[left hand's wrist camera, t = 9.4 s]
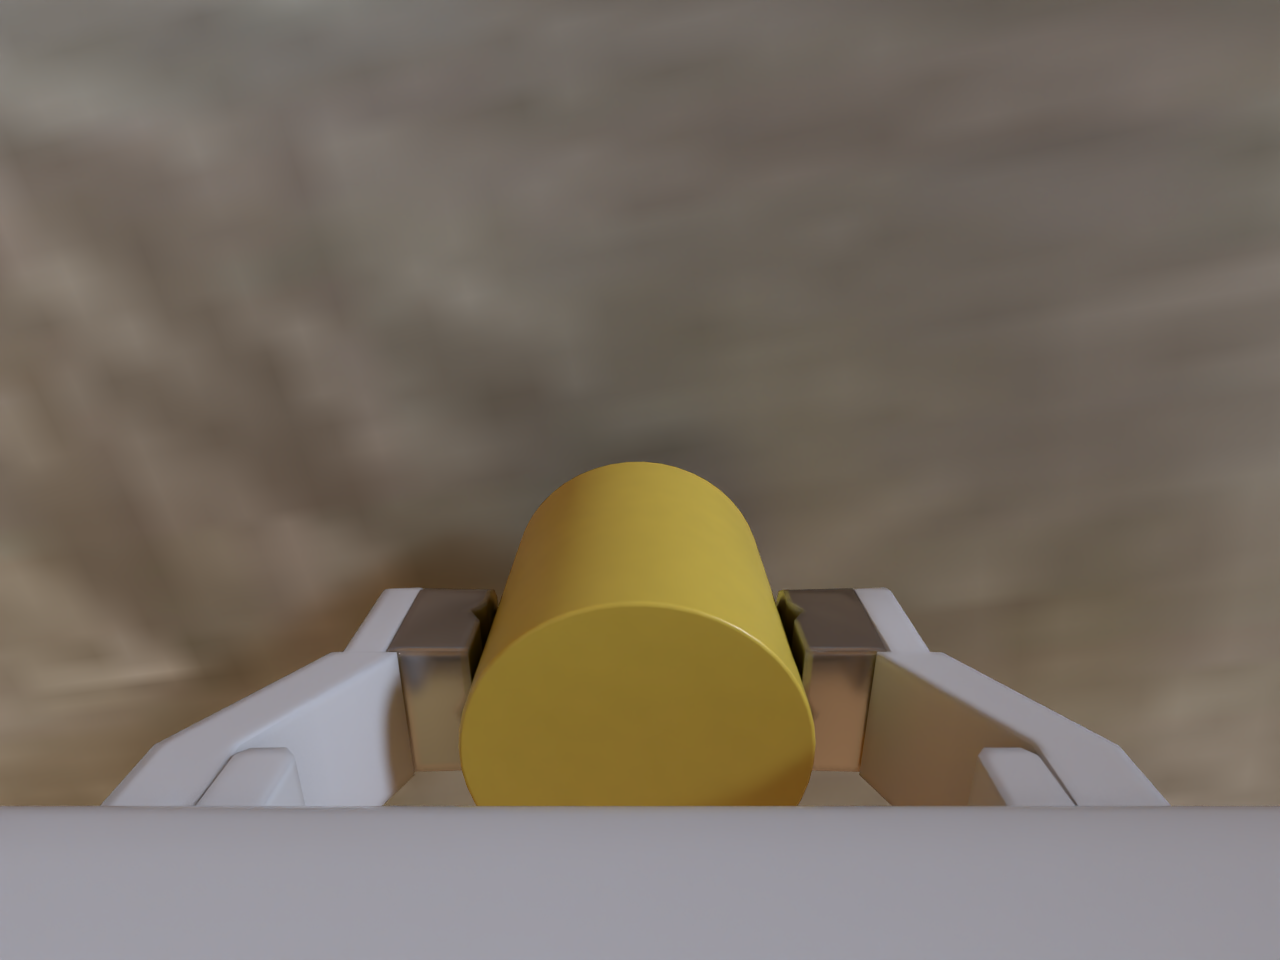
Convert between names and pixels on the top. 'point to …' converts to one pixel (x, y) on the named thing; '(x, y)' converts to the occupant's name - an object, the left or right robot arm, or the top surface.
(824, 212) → the top surface
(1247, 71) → the top surface
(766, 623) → the can
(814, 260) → the top surface
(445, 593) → the left robot arm
